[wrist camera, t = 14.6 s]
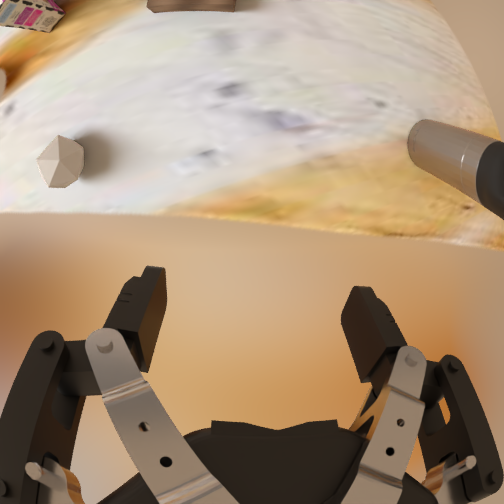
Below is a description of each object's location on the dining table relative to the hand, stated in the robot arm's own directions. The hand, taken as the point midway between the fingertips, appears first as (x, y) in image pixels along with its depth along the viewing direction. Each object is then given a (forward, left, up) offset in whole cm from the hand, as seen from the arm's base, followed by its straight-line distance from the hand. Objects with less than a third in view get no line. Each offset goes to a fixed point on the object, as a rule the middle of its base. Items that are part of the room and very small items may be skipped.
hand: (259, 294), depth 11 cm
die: (+30, +2, -32) cm, 44 cm away
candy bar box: (+40, -28, -32) cm, 59 cm away
